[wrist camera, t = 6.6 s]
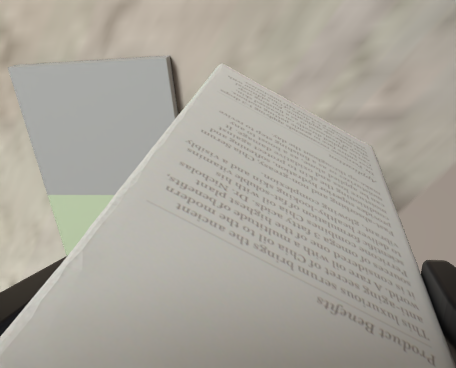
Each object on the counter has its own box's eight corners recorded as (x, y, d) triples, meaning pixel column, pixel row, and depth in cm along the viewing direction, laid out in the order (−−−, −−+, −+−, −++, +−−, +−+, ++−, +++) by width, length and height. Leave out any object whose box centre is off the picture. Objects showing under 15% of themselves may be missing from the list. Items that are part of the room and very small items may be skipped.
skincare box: (171, 161, 16) (-97, 553, 5) (221, 58, 14) (-51, 360, 3) (311, 235, 16) (325, 729, 6) (380, 147, 14) (595, 659, 4)
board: (169, 55, 19) (165, 58, 19) (203, 291, 26) (201, 298, 25) (15, 65, 21) (7, 67, 20) (82, 285, 27) (78, 292, 27)
